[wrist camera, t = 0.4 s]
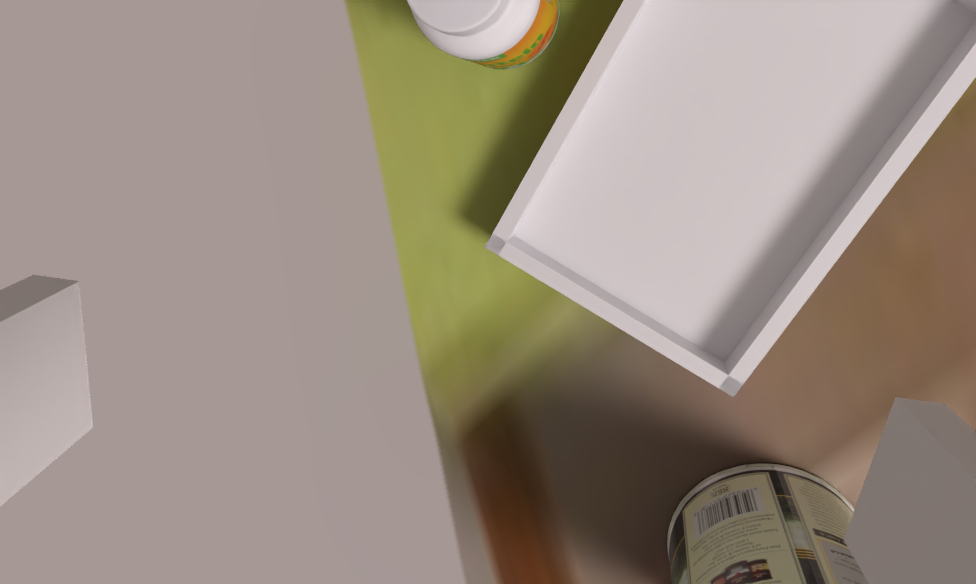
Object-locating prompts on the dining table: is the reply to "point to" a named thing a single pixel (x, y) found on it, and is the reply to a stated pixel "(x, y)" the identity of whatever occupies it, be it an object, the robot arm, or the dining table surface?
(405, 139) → the dining table surface
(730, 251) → the white tray
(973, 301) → the dining table surface
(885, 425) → the robot arm
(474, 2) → the supplement bottle
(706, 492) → the coffee can
